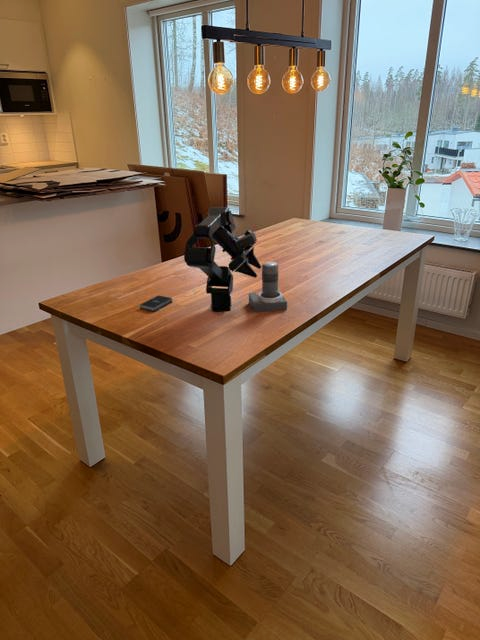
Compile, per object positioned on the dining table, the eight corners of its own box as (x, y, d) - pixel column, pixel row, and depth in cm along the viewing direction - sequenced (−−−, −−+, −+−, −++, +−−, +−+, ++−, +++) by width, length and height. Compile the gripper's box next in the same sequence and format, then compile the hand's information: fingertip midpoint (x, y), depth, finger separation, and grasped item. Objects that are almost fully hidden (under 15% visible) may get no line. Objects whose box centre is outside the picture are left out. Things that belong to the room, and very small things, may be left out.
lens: (263, 301, 157) (263, 266, 151) (260, 296, 162) (260, 262, 157) (279, 300, 157) (280, 265, 152) (275, 294, 163) (276, 260, 157)
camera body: (253, 312, 156) (253, 300, 154) (249, 303, 164) (248, 291, 162) (286, 309, 158) (287, 297, 156) (280, 300, 166) (280, 289, 164)
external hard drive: (173, 303, 167) (172, 298, 166) (153, 313, 158) (153, 308, 157) (158, 300, 170) (158, 295, 169) (139, 310, 161) (138, 305, 161)
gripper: (236, 232, 142) (271, 266, 145) (247, 218, 159) (277, 249, 161) (214, 255, 147) (247, 287, 150) (226, 239, 164) (256, 269, 166)
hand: (258, 272), depth 157 cm, fingers open, 9 cm apart
